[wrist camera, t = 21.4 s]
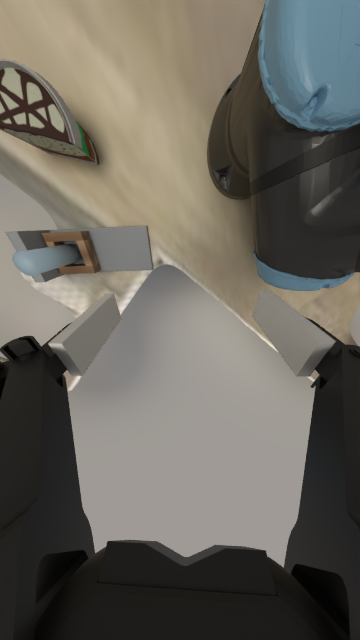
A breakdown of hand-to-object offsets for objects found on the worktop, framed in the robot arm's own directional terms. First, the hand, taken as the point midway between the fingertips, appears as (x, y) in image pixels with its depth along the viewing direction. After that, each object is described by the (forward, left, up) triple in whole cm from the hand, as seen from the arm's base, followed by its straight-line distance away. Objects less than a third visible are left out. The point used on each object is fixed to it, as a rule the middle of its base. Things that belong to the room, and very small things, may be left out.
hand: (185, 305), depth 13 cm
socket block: (-2, -27, -27) cm, 39 cm away
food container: (-21, -21, -29) cm, 41 cm away
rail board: (-2, -22, -29) cm, 36 cm away
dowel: (-2, -28, -28) cm, 39 cm away
